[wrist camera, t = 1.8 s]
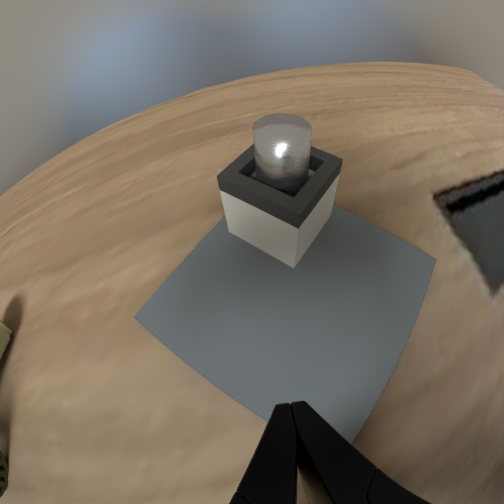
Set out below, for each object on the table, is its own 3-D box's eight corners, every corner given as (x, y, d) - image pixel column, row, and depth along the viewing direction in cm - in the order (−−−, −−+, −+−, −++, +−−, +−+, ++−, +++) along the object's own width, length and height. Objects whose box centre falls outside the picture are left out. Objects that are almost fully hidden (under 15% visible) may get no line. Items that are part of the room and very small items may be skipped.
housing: (330, 215, 27) (342, 159, 21) (293, 268, 24) (299, 214, 18) (270, 186, 29) (268, 131, 23) (228, 231, 26) (216, 176, 21)
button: (314, 184, 23) (321, 124, 18) (290, 215, 21) (293, 151, 16) (274, 167, 24) (273, 108, 19) (247, 194, 23) (240, 132, 18)
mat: (431, 264, 24) (436, 259, 23) (335, 459, 16) (338, 461, 15) (266, 180, 31) (266, 173, 30) (138, 320, 23) (133, 317, 22)
